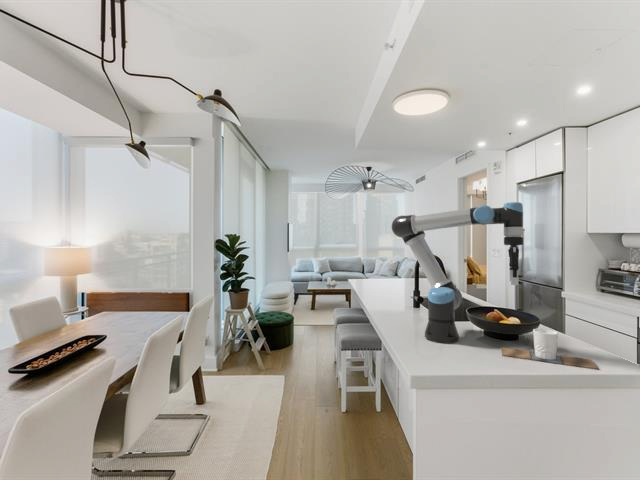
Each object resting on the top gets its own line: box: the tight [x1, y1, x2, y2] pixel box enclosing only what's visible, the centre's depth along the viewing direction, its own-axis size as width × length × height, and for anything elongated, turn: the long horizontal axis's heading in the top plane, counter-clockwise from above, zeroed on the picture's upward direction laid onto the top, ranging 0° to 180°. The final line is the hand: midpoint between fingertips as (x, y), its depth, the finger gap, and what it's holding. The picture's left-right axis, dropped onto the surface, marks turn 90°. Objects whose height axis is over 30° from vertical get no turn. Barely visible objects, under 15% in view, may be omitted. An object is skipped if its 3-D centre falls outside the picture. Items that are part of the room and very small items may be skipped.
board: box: [501, 346, 600, 371], centre depth 124 cm, size 30×10×1 cm, turn 62°
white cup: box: [532, 328, 559, 360], centre depth 124 cm, size 8×8×10 cm
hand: (513, 283), depth 145 cm, fingers open, 13 cm apart
